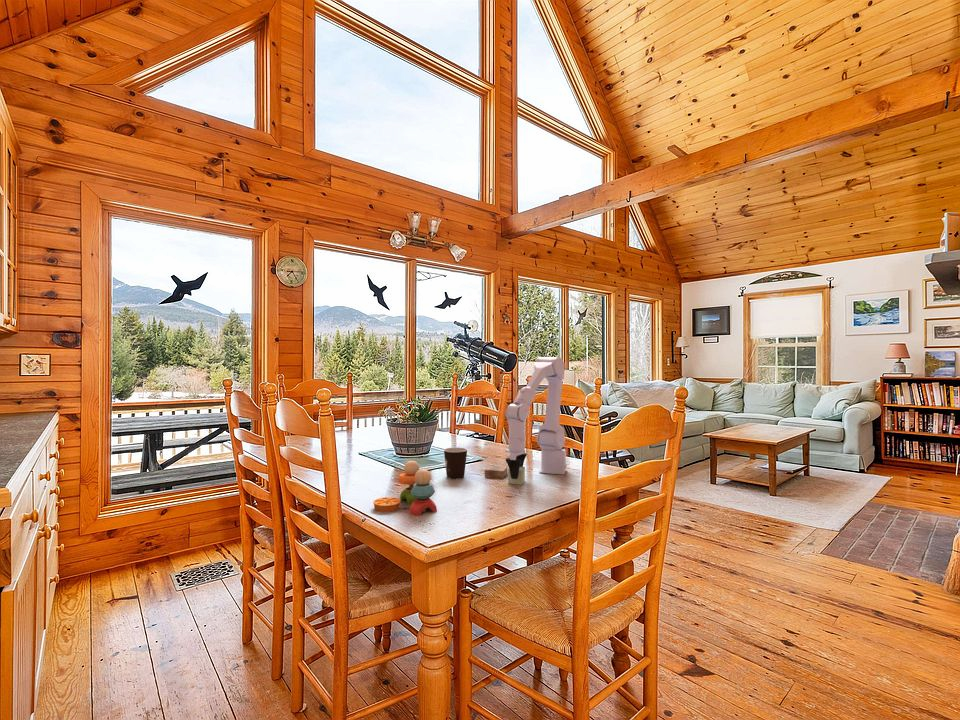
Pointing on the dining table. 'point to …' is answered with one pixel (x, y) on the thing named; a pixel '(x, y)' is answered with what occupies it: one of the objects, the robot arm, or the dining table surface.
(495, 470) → the walnut block
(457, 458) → the coffee mug
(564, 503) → the dining table surface
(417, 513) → the stacking toy
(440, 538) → the dining table surface
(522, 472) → the green cube
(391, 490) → the dining table surface
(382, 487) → the dining table surface
